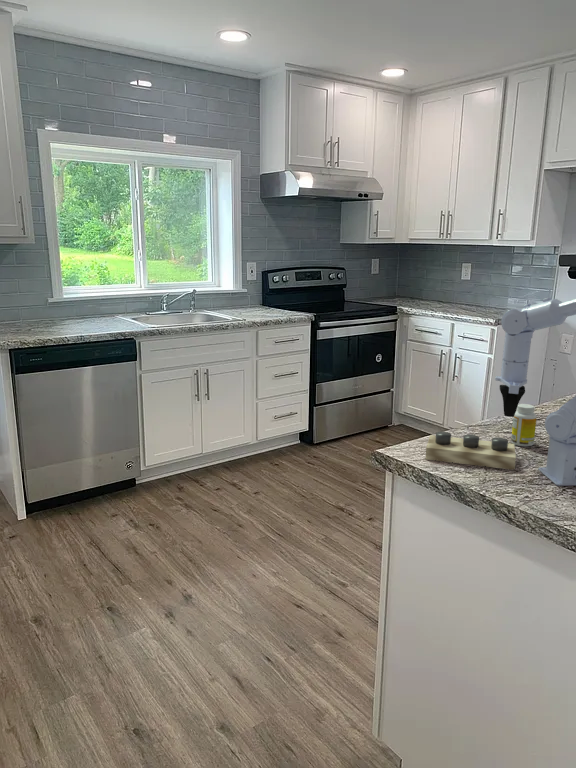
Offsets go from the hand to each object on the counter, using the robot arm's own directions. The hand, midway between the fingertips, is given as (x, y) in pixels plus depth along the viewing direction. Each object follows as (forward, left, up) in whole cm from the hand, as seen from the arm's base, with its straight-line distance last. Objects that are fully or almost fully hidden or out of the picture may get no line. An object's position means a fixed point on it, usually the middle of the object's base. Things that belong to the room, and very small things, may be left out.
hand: (509, 415), depth 138 cm
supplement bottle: (+10, -8, -11) cm, 17 cm away
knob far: (+2, +15, -10) cm, 18 cm away
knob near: (-3, +3, -10) cm, 11 cm away
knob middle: (0, +9, -10) cm, 14 cm away
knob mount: (0, +9, -10) cm, 14 cm away
